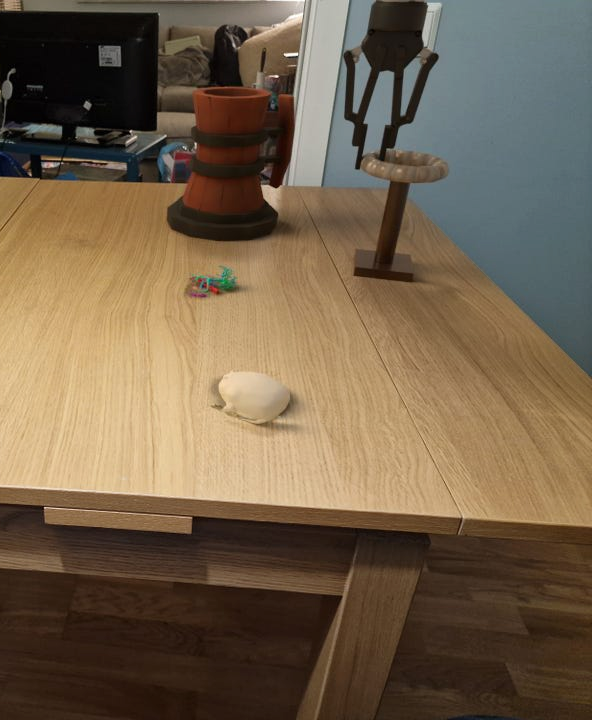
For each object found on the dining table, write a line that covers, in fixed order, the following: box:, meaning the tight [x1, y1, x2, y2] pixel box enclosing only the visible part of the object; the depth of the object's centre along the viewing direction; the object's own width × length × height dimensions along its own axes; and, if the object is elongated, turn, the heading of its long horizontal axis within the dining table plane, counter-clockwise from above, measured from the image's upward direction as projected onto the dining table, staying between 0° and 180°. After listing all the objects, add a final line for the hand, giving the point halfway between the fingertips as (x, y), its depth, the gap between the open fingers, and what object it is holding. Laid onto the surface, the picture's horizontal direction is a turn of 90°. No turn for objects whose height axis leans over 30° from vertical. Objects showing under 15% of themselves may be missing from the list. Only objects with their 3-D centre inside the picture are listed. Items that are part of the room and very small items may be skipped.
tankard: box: [166, 86, 296, 242], centre depth 128 cm, size 22×25×25 cm
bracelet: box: [360, 149, 450, 184], centre depth 103 cm, size 13×13×2 cm
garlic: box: [210, 370, 291, 425], centre depth 75 cm, size 8×7×4 cm
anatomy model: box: [185, 265, 238, 298], centre depth 101 cm, size 5×8×7 cm
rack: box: [352, 180, 415, 283], centre depth 108 cm, size 9×9×16 cm
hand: (368, 168), depth 105 cm, fingers closed on bracelet, 3 cm apart
